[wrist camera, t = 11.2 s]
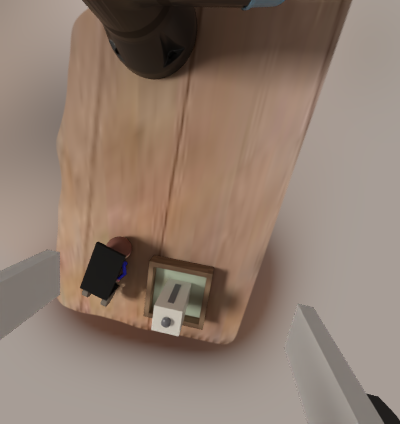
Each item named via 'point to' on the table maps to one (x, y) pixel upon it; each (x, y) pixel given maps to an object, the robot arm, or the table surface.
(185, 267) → the brown wooden square tray
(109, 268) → the figurine character
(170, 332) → the strip block
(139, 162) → the table surface
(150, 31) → the robot arm
